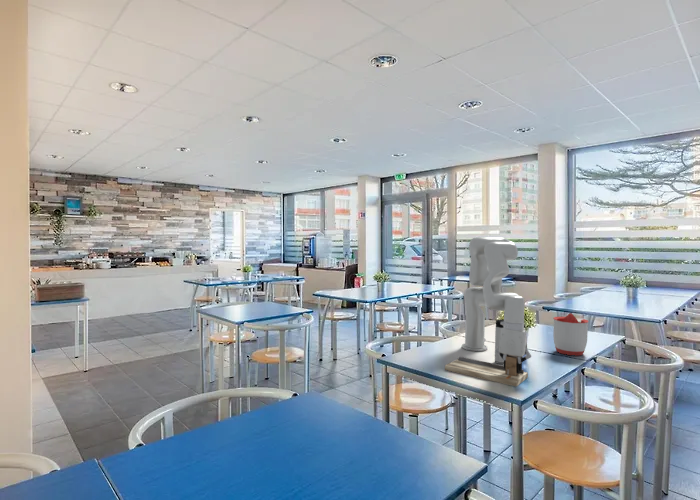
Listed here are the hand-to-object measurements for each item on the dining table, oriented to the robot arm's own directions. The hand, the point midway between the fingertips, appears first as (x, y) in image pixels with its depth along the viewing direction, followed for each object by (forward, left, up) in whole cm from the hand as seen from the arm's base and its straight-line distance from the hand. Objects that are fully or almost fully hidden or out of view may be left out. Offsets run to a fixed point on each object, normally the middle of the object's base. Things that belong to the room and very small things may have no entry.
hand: (512, 370), depth 169 cm
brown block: (+2, 0, -1) cm, 2 cm away
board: (+1, -11, -3) cm, 11 cm away
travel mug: (-19, -11, -3) cm, 22 cm away
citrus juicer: (-60, +9, -4) cm, 60 cm away
